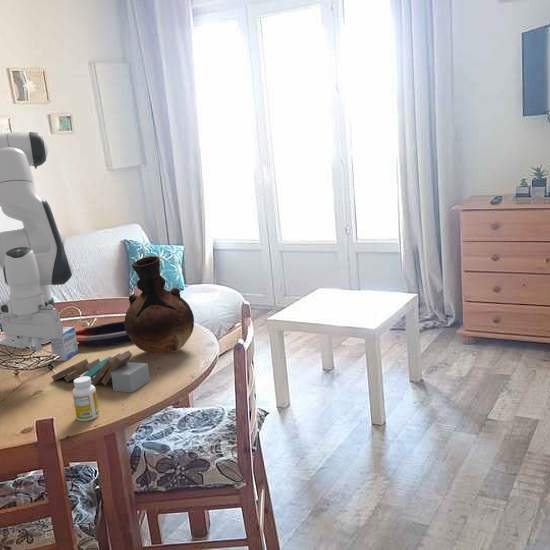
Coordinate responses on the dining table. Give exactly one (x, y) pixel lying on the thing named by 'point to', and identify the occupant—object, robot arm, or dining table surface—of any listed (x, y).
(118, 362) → the domino
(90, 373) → the domino
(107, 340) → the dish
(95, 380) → the domino
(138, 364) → the end block
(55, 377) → the domino
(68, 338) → the medicine box
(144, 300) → the ceramic vessel
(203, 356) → the dining table surface
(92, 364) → the domino
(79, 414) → the supplement bottle
